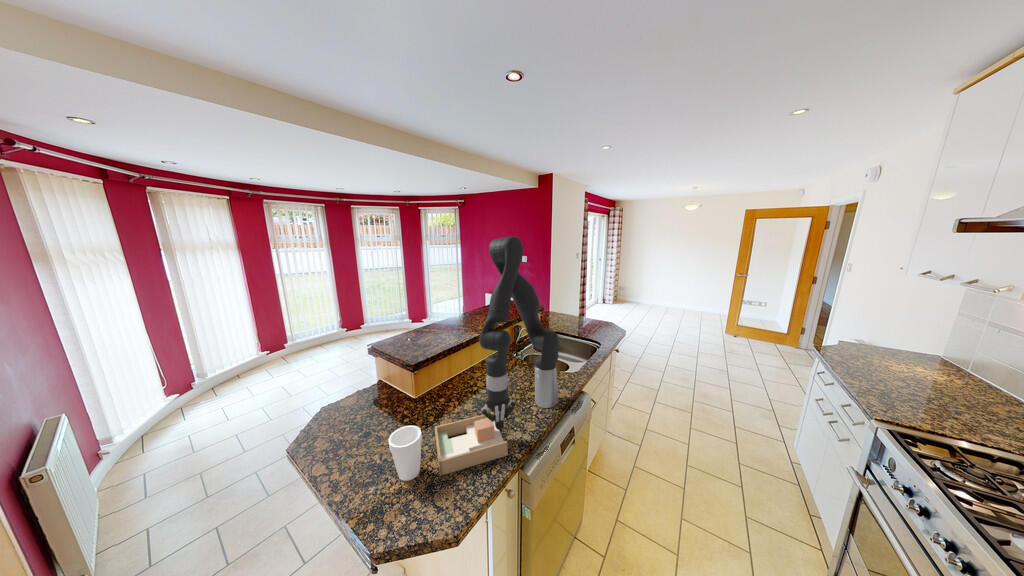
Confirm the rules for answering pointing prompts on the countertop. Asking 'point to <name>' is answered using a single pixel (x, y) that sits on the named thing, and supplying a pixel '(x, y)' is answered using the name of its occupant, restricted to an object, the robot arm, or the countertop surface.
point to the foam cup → (406, 451)
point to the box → (466, 446)
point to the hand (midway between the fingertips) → (499, 428)
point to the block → (484, 430)
